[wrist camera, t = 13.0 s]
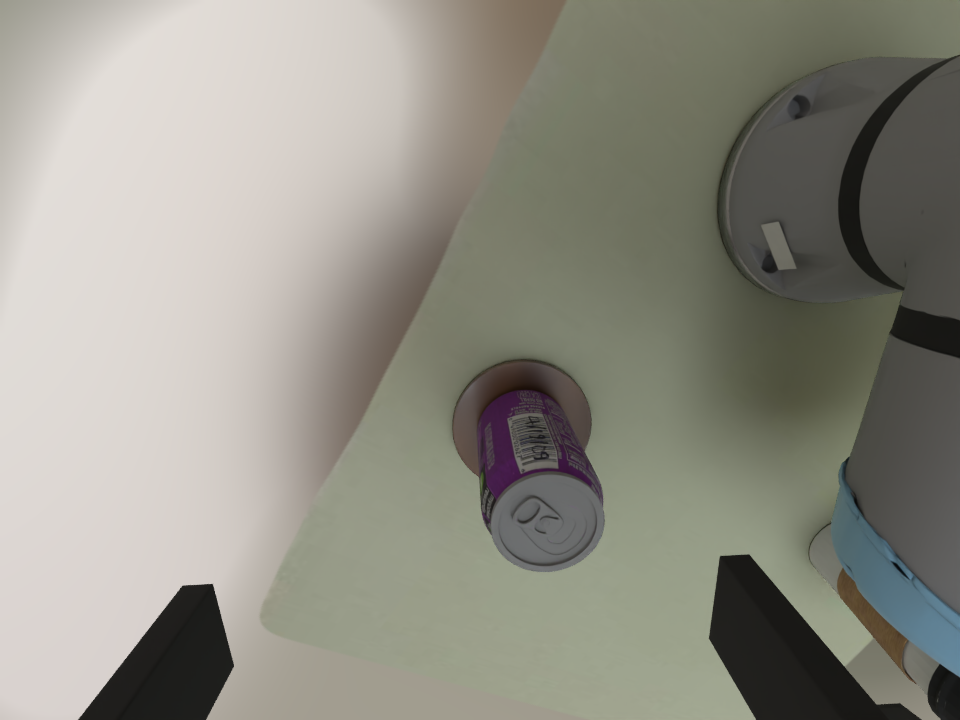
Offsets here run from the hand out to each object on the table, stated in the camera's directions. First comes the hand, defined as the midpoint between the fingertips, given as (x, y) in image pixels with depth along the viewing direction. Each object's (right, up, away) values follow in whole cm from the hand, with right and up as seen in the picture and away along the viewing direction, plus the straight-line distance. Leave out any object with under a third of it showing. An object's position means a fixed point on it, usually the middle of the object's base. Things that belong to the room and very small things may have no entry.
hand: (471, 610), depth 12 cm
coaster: (+4, +1, +25) cm, 25 cm away
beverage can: (+3, +1, +24) cm, 24 cm away
